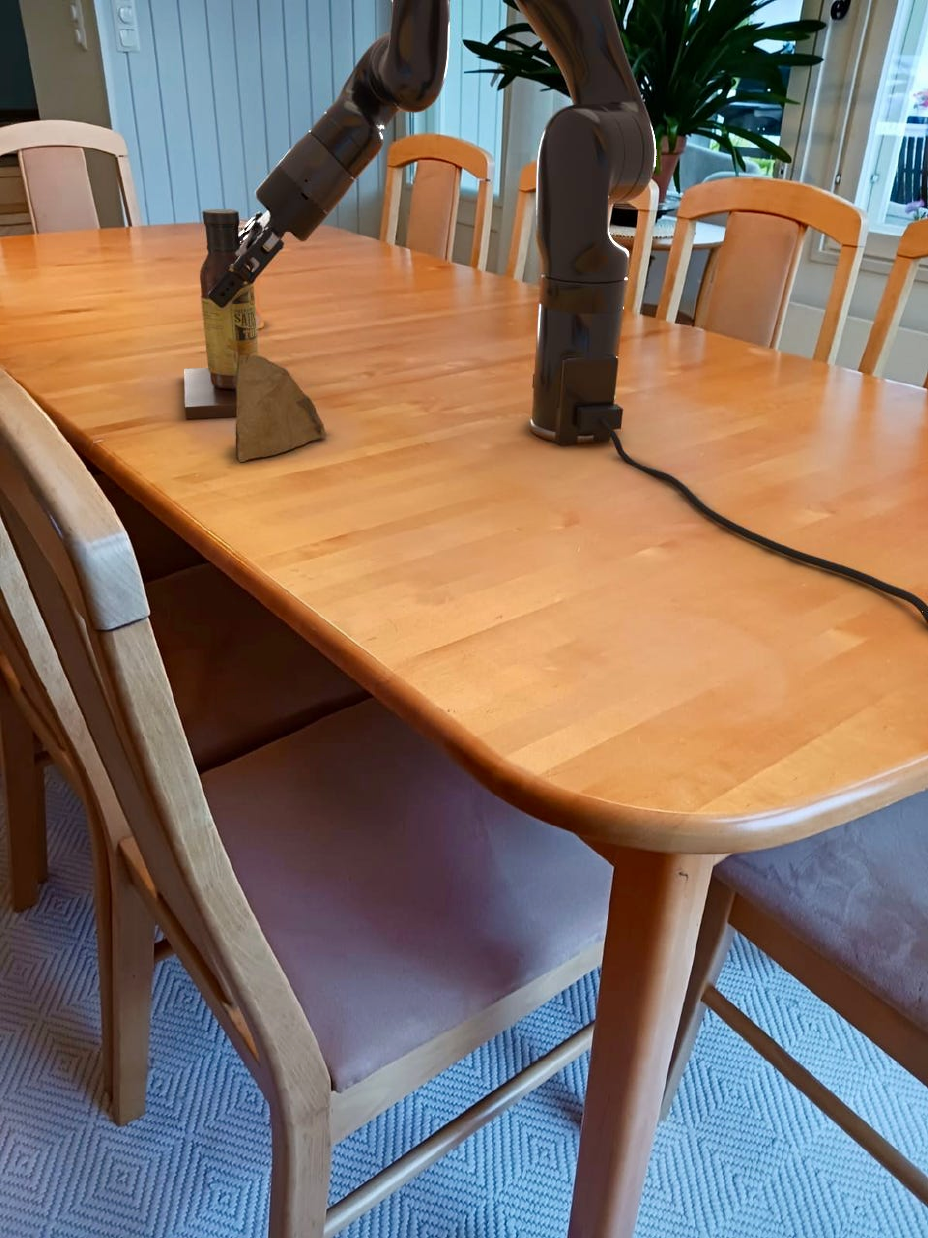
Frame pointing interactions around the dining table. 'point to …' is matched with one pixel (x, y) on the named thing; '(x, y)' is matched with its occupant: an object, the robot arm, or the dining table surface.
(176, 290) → the dining table surface
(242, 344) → the sauce bottle
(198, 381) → the metal block
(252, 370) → the rock
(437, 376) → the dining table surface
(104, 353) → the dining table surface
